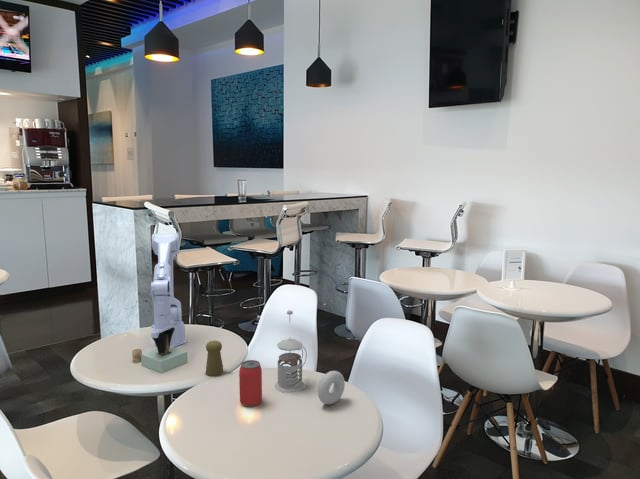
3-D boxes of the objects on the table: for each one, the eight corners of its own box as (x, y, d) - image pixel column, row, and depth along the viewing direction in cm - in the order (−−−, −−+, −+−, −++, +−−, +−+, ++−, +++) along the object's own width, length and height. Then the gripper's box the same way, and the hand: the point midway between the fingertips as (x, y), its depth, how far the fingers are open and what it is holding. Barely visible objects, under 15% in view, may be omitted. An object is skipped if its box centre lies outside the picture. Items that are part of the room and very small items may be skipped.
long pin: (165, 356, 167) (164, 334, 166) (171, 358, 166) (170, 336, 165) (157, 359, 165) (156, 337, 164) (163, 361, 163) (162, 339, 162)
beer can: (265, 398, 141) (265, 361, 139) (255, 409, 134) (255, 369, 133) (246, 395, 143) (245, 358, 141) (235, 405, 137) (234, 366, 135)
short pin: (138, 358, 170) (138, 348, 169) (144, 360, 168) (143, 350, 168) (130, 361, 167) (130, 350, 167) (136, 363, 166) (135, 352, 165)
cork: (221, 376, 155) (220, 345, 154) (203, 376, 156) (202, 344, 154) (225, 369, 161) (224, 338, 160) (208, 368, 162) (207, 338, 160)
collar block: (167, 355, 173) (167, 345, 173) (187, 362, 167) (186, 351, 166) (141, 365, 164) (141, 354, 164) (161, 373, 158) (160, 361, 157)
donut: (323, 411, 133) (323, 378, 132) (315, 407, 136) (315, 374, 134) (347, 399, 140) (347, 368, 139) (338, 396, 143) (339, 364, 141)
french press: (268, 386, 149) (267, 310, 145) (294, 374, 158) (294, 302, 154) (289, 396, 142) (289, 317, 139) (315, 383, 151) (315, 308, 147)
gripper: (159, 307, 170) (161, 342, 172) (141, 319, 156) (143, 358, 158) (178, 307, 170) (180, 343, 172) (162, 320, 155) (164, 359, 157)
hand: (164, 350), depth 165 cm, fingers closed on long pin, 3 cm apart
